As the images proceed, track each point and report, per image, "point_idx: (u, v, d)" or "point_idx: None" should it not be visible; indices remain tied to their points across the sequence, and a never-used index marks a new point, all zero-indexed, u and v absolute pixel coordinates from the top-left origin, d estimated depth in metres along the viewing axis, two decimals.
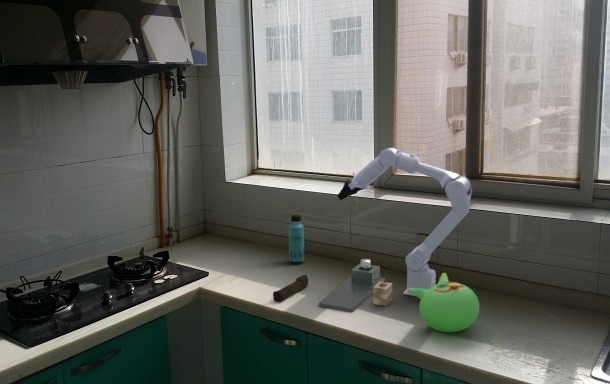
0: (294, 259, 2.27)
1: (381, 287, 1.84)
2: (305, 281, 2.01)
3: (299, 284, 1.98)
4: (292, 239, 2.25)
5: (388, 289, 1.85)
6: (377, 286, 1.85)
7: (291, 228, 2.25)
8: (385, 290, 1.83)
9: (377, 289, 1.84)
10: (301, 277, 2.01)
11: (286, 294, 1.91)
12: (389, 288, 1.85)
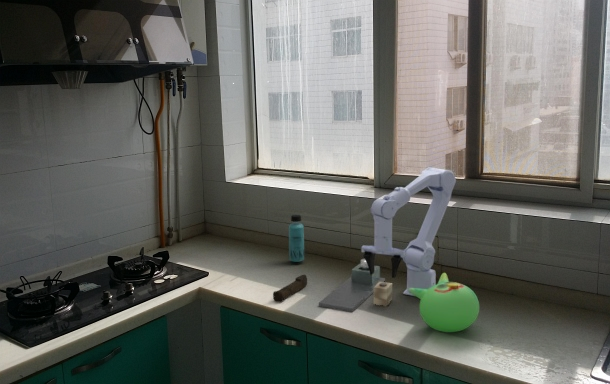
0: (294, 259, 2.27)
1: (381, 287, 1.84)
2: (304, 281, 2.01)
3: (299, 284, 1.98)
4: (292, 239, 2.25)
5: (388, 289, 1.85)
6: (377, 286, 1.85)
7: (291, 228, 2.25)
8: (385, 290, 1.83)
9: (377, 289, 1.84)
10: (300, 277, 2.01)
11: (286, 294, 1.91)
12: (389, 288, 1.85)
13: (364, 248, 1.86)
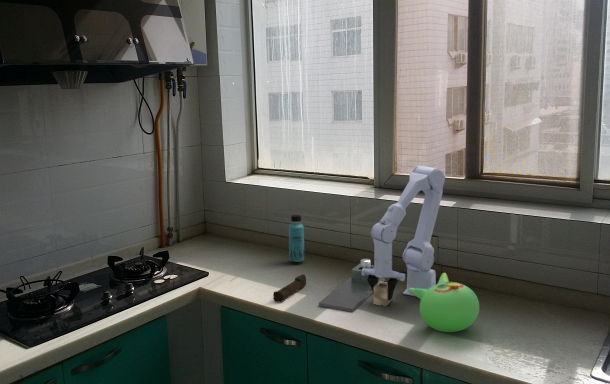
0: (294, 259, 2.27)
1: (381, 287, 1.84)
2: (303, 281, 2.02)
3: (298, 284, 1.98)
4: (292, 239, 2.25)
5: None
6: (377, 286, 1.85)
7: (291, 228, 2.25)
8: (385, 290, 1.83)
9: (377, 289, 1.84)
10: (300, 277, 2.01)
11: (286, 294, 1.91)
12: None
13: (364, 271, 1.87)
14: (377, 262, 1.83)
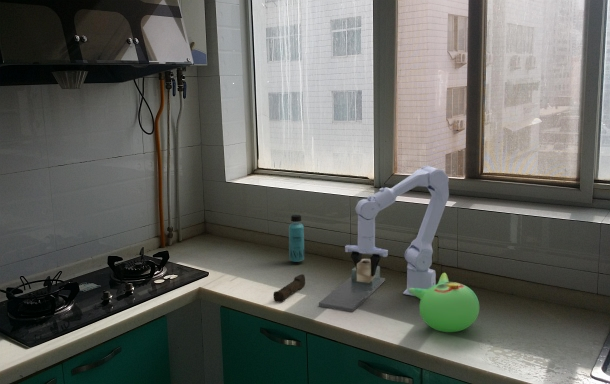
0: (294, 259, 2.27)
1: (364, 264, 1.86)
2: (303, 280, 2.02)
3: (298, 283, 1.98)
4: (292, 239, 2.25)
5: None
6: (360, 263, 1.87)
7: (291, 228, 2.25)
8: (368, 266, 1.85)
9: (360, 266, 1.86)
10: (299, 276, 2.01)
11: (286, 294, 1.91)
12: None
13: (348, 248, 1.89)
14: (360, 238, 1.85)
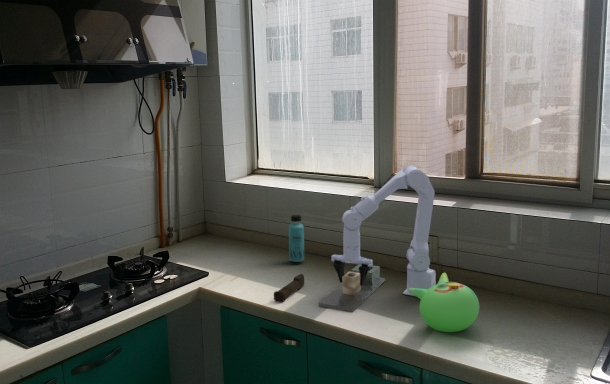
0: (294, 259, 2.27)
1: (350, 277, 1.91)
2: (302, 280, 2.02)
3: (297, 283, 1.98)
4: (292, 239, 2.25)
5: (356, 278, 1.91)
6: (346, 276, 1.92)
7: (291, 228, 2.25)
8: (353, 279, 1.90)
9: (346, 278, 1.91)
10: (298, 276, 2.01)
11: (287, 294, 1.91)
12: (357, 277, 1.92)
13: (334, 257, 1.94)
14: (345, 248, 1.89)
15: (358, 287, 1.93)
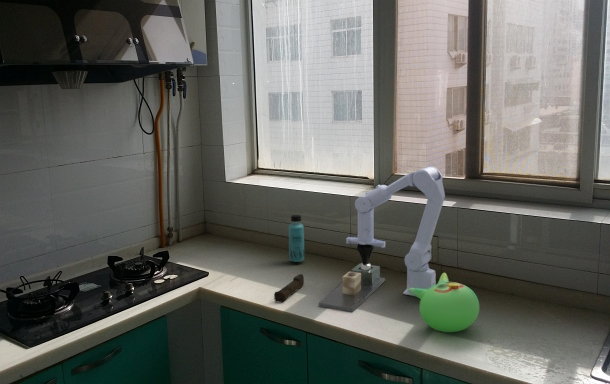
0: (294, 259, 2.27)
1: (350, 277, 1.91)
2: (302, 280, 2.02)
3: (297, 283, 1.99)
4: (292, 239, 2.25)
5: (356, 278, 1.91)
6: (346, 276, 1.92)
7: (291, 228, 2.25)
8: (353, 279, 1.90)
9: (346, 278, 1.91)
10: (298, 276, 2.01)
11: (287, 294, 1.91)
12: (357, 277, 1.92)
13: (348, 239, 2.05)
14: (360, 230, 2.00)
15: (358, 287, 1.93)
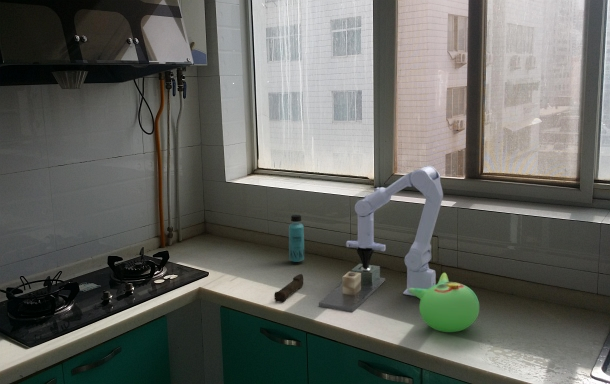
0: (294, 259, 2.27)
1: (350, 277, 1.91)
2: (301, 280, 2.02)
3: (297, 283, 1.99)
4: (292, 239, 2.25)
5: (356, 278, 1.91)
6: (346, 276, 1.92)
7: (291, 228, 2.25)
8: (353, 279, 1.90)
9: (346, 278, 1.91)
10: (298, 276, 2.02)
11: (287, 294, 1.91)
12: (357, 277, 1.92)
13: (348, 243, 2.05)
14: (360, 234, 2.00)
15: (358, 287, 1.93)
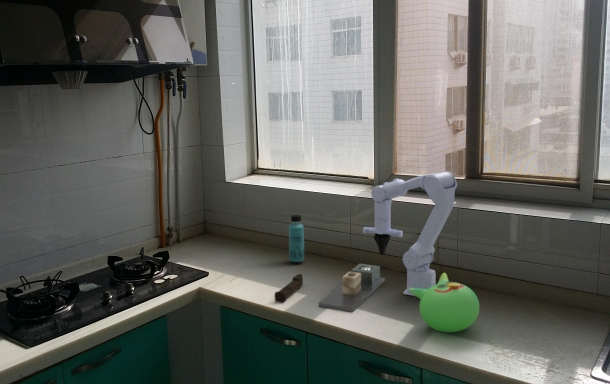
0: (294, 259, 2.27)
1: (350, 277, 1.91)
2: (301, 280, 2.02)
3: (297, 283, 1.99)
4: (292, 239, 2.25)
5: (356, 278, 1.91)
6: (346, 276, 1.92)
7: (291, 228, 2.25)
8: (353, 279, 1.90)
9: (346, 278, 1.91)
10: (297, 276, 2.02)
11: (287, 294, 1.91)
12: (357, 277, 1.92)
13: (365, 229, 2.05)
14: (377, 220, 2.01)
15: (358, 287, 1.93)
